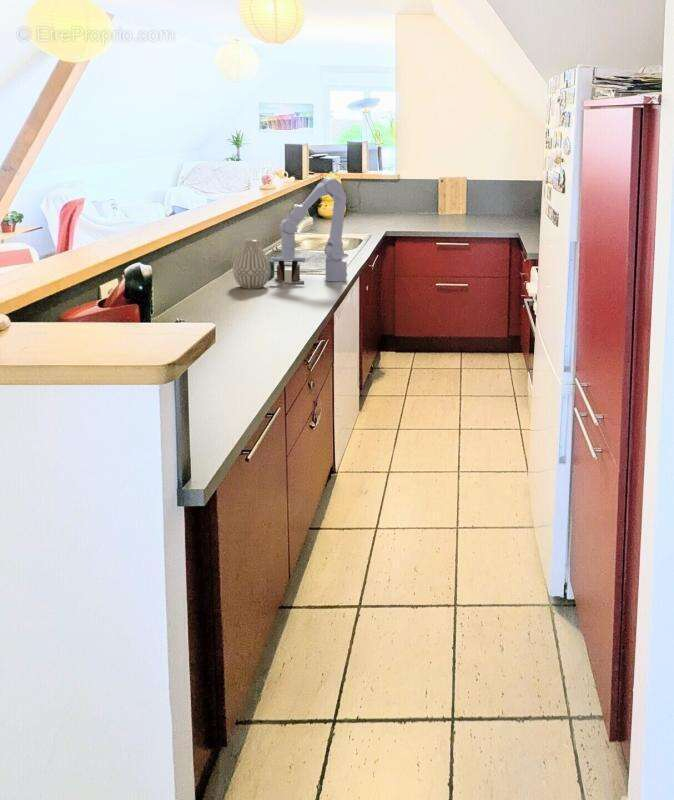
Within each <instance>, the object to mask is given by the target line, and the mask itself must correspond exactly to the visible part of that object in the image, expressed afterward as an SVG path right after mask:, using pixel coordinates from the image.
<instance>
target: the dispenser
mask: <svg viewBox="0 0 674 800" xmlns="http://www.w3.org/2000/svg"><path fill="white" fill-rule="evenodd" d="M300 264H301V262H298V264H297V267H296V269H295V272H294V276H293V279H292V281H301V280H300V279H301V276H300V275H301V273H300V271H301V269H300ZM285 266H291V267H292V262H284V272H285ZM276 280H277V281H284V279H283V275H282V271H281V268H280V266H279V262H276Z"/></svg>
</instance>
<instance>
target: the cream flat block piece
mask: <svg viewBox="0 0 674 800" xmlns="http://www.w3.org/2000/svg"><path fill="white" fill-rule="evenodd" d="M284 283H285V284H293V279H292V267H291V266H285V279H284Z"/></svg>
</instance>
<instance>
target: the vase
mask: <svg viewBox="0 0 674 800" xmlns="http://www.w3.org/2000/svg"><path fill="white" fill-rule="evenodd" d="M269 260H270V259H269V257H268V256H267V254H266V252H265V251H264V250H263V248H262V247H261V244H260V242H259V240H258V239H257V238H247V239H245V240H244V242H243V244H242V246H241V249H240V250H239V251H238V253H237V255H236V257H235V258H234V261H233V265H232V275H233V278H234V280H235V282H236V283H237V285H239V287H241V288H242V289H247V290H248V289H249V290H257V289H261V288H263V287H264V286H265V285H266V284H267V283H268V281H269V280H270V279H271V278H270V274H271V267H270V263H269ZM269 278H270V279H269Z"/></svg>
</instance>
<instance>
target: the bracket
mask: <svg viewBox="0 0 674 800" xmlns="http://www.w3.org/2000/svg"><path fill="white" fill-rule="evenodd" d="M268 260H269V263H270V267H271V274H270V278H269V280H270V279H272V278H273V277H275V262H271V259H268Z"/></svg>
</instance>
